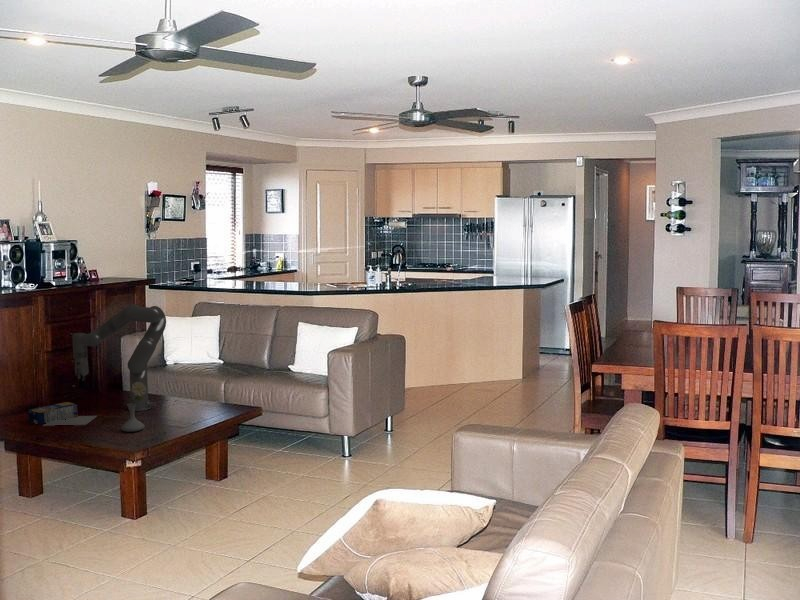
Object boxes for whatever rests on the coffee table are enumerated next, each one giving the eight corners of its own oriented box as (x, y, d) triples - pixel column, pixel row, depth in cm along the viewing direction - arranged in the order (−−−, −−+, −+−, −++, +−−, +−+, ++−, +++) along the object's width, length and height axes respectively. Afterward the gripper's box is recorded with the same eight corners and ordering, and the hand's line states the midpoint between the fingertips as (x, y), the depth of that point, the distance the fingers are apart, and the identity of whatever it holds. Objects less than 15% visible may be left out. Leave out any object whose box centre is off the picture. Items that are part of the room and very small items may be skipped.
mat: (97, 416, 459) (97, 415, 459) (85, 425, 439) (85, 424, 439) (56, 417, 458) (56, 416, 458) (42, 426, 438) (42, 425, 438)
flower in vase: (122, 434, 419) (120, 385, 417) (120, 429, 430) (117, 381, 427) (149, 431, 424) (147, 382, 422) (146, 426, 435) (144, 379, 433)
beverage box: (77, 416, 457) (38, 425, 441) (68, 413, 464) (28, 422, 448) (77, 404, 456) (37, 412, 440) (67, 401, 464) (27, 409, 448)
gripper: (83, 357, 460) (85, 390, 461) (91, 352, 475) (93, 384, 476) (69, 357, 459) (71, 390, 461) (77, 353, 474) (79, 385, 476)
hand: (82, 387), depth 469 cm, fingers closed
